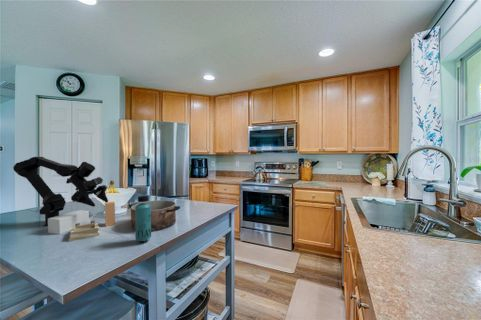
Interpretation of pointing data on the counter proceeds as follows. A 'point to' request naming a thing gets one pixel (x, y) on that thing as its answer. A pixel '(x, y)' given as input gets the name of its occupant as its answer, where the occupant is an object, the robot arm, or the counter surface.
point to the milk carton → (68, 221)
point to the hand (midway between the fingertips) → (101, 203)
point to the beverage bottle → (143, 219)
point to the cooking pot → (158, 214)
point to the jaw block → (109, 213)
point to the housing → (84, 231)
